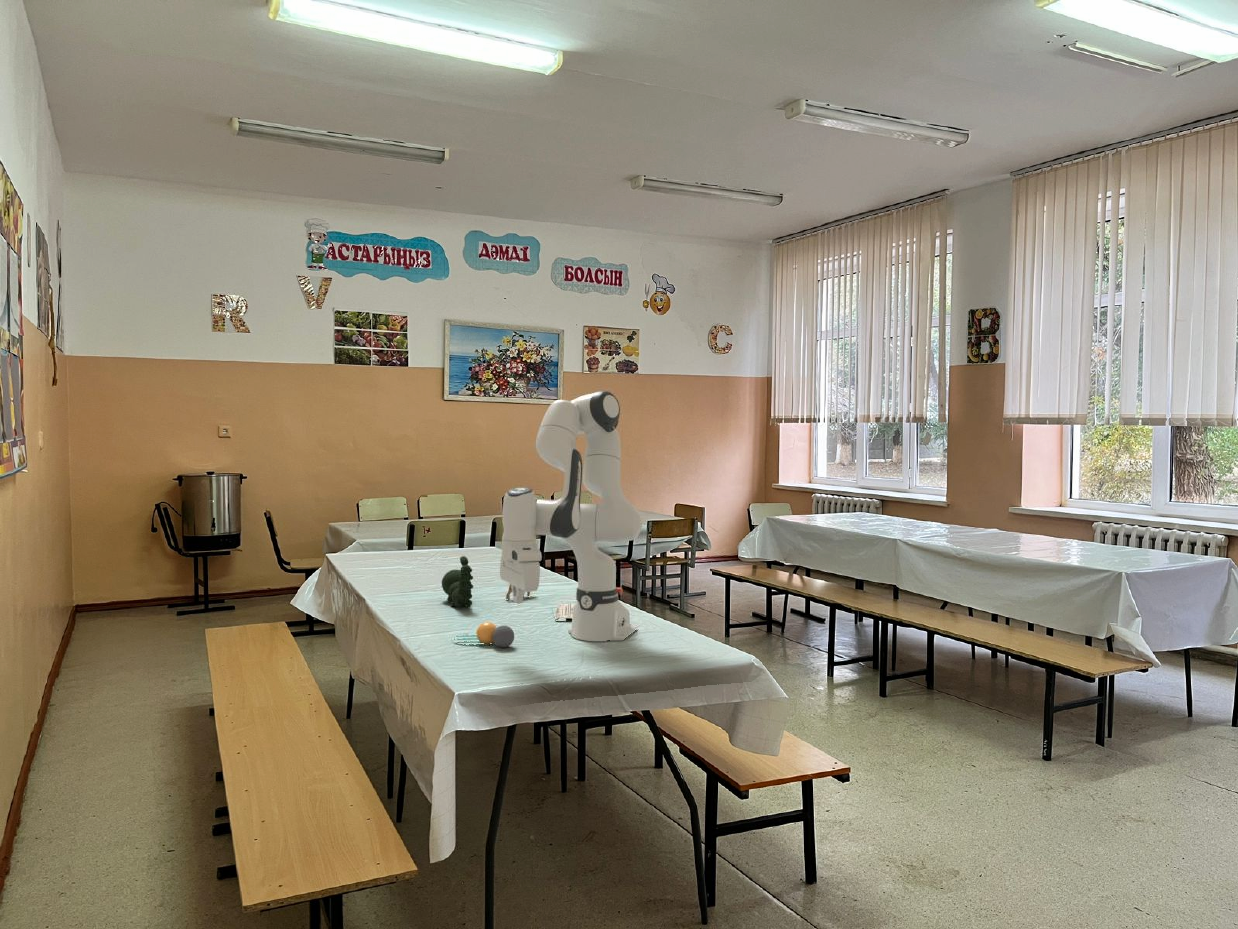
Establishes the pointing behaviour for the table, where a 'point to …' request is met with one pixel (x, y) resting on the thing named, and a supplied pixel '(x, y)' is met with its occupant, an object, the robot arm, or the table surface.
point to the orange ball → (486, 632)
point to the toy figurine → (459, 585)
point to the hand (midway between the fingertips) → (518, 602)
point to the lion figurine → (511, 591)
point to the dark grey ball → (503, 636)
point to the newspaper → (564, 611)
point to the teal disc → (470, 641)
